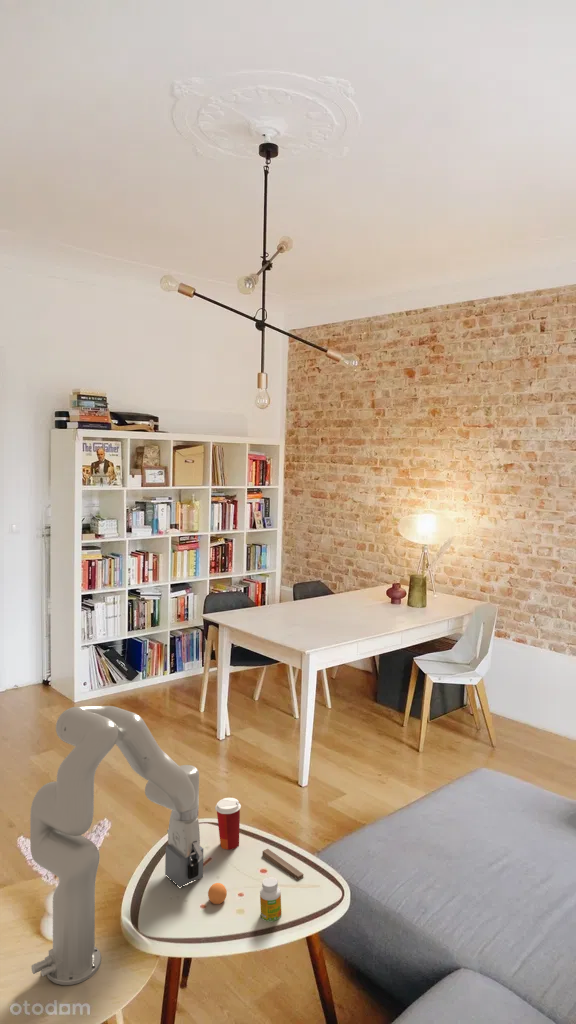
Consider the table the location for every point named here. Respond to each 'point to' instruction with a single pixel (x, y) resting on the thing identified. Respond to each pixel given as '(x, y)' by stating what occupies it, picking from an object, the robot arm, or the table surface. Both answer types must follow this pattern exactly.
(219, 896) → the ball
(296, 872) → the long brown rectangular bar
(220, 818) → the paper cup
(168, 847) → the grey matte cube
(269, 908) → the supplement bottle
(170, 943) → the table surface
